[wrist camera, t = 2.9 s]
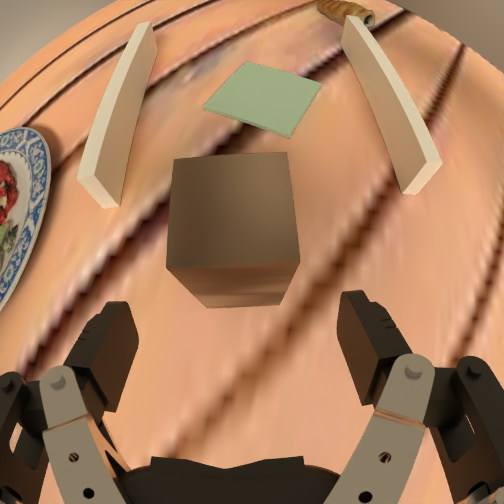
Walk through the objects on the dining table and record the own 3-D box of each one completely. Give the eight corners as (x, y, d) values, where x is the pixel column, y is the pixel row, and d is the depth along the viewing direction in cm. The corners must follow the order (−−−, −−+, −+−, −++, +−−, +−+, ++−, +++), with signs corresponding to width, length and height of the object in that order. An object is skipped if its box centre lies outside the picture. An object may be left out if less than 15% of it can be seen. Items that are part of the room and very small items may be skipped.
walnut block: (274, 233, 22) (286, 147, 13) (279, 305, 20) (300, 261, 11) (206, 237, 22) (174, 154, 13) (206, 308, 20) (166, 268, 11)
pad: (321, 86, 28) (322, 83, 27) (289, 138, 25) (289, 135, 25) (246, 63, 29) (246, 61, 29) (203, 109, 27) (202, 106, 26)
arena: (351, 45, 31) (358, 16, 26) (416, 194, 23) (442, 163, 19) (147, 52, 31) (138, 24, 26) (103, 208, 23) (76, 178, 18)
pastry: (307, 12, 35) (309, -6, 32) (329, 6, 37) (332, -11, 33) (358, 35, 33) (363, 15, 29) (376, 27, 35) (382, 9, 31)
